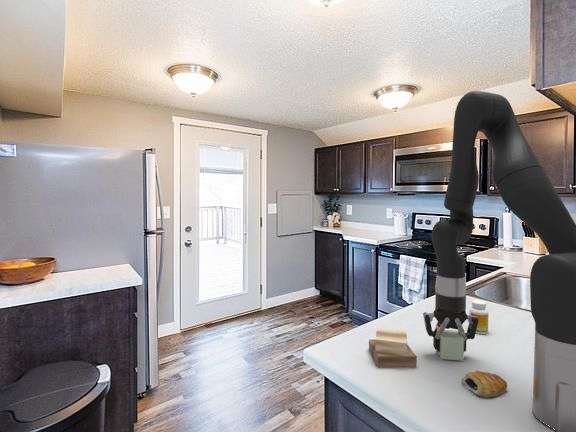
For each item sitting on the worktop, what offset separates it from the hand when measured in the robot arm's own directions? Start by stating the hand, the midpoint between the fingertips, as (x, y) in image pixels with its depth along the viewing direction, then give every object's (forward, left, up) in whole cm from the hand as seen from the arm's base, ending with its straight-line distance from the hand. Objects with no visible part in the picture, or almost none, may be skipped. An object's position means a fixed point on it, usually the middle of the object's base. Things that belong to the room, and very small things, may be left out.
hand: (449, 351), depth 90 cm
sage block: (0, 0, -1) cm, 1 cm away
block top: (-4, +16, +2) cm, 17 cm away
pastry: (-15, -3, -2) cm, 15 cm away
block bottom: (-4, +16, -2) cm, 17 cm away
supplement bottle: (+19, -14, -1) cm, 24 cm away
